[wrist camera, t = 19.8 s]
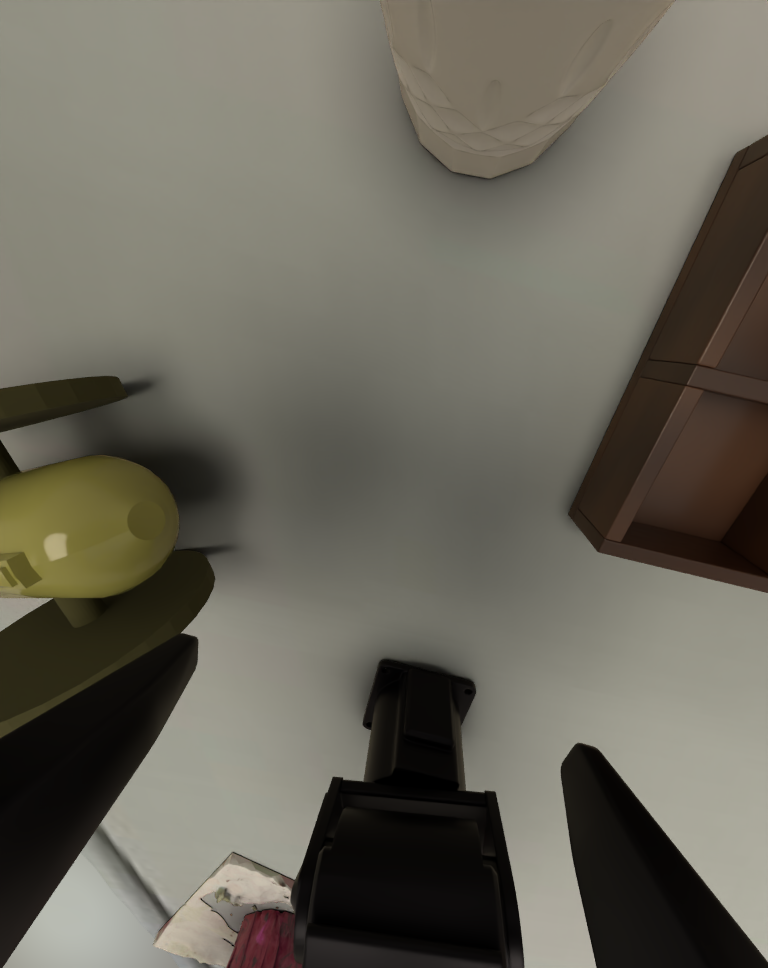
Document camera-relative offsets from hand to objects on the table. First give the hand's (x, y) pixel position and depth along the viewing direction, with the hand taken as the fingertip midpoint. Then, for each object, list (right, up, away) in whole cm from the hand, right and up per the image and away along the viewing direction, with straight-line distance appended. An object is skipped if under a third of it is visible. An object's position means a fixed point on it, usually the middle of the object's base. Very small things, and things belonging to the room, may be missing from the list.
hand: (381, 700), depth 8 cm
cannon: (-20, +4, +14) cm, 25 cm away
